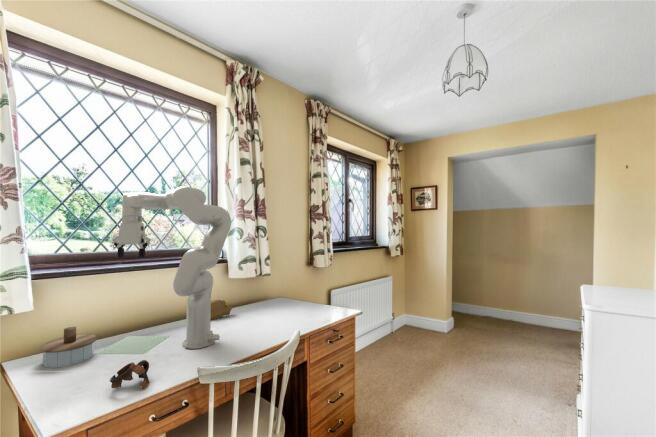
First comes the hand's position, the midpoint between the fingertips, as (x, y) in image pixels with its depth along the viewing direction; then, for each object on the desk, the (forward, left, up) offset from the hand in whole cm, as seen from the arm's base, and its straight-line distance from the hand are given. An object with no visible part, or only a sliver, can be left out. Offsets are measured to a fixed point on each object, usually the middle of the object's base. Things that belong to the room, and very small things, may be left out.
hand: (131, 257), depth 138 cm
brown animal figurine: (-29, +42, -37) cm, 63 cm away
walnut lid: (+7, +24, -30) cm, 39 cm away
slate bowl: (+7, +24, -36) cm, 44 cm away
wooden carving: (-29, -28, -37) cm, 54 cm away
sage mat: (-9, +10, -36) cm, 39 cm away
